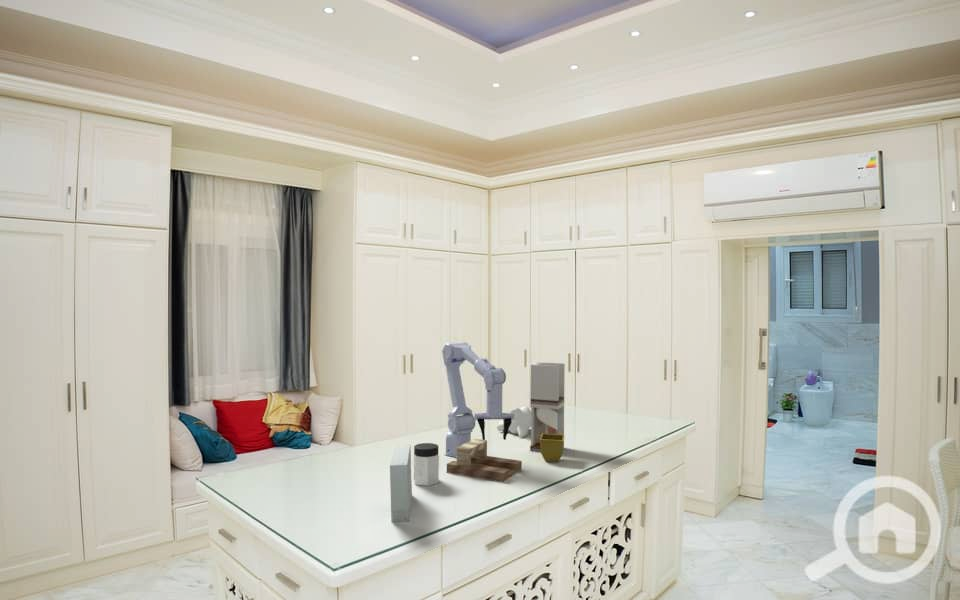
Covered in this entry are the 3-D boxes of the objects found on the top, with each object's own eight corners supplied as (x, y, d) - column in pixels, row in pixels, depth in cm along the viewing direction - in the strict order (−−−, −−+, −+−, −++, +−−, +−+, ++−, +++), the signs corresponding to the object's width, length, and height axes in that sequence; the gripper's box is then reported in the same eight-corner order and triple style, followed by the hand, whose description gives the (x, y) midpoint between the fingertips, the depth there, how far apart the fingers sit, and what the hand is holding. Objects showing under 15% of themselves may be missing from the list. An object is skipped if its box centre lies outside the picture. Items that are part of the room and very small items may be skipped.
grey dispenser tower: (530, 451, 224) (530, 364, 224) (537, 444, 234) (538, 362, 234) (557, 454, 220) (558, 366, 220) (563, 447, 230) (564, 363, 230)
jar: (408, 484, 183) (408, 447, 183) (418, 476, 190) (418, 441, 190) (433, 487, 180) (434, 450, 180) (442, 479, 188) (443, 444, 188)
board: (446, 472, 195) (446, 463, 195) (467, 460, 210) (467, 452, 210) (503, 481, 186) (503, 473, 186) (521, 469, 200) (521, 460, 200)
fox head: (495, 411, 267) (489, 417, 247) (527, 400, 265) (524, 405, 245) (505, 438, 265) (499, 446, 246) (537, 427, 263) (534, 434, 244)
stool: (469, 466, 192) (469, 449, 192) (456, 464, 195) (456, 447, 195) (486, 456, 205) (487, 440, 205) (474, 454, 207) (475, 438, 207)
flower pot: (563, 464, 206) (563, 440, 206) (539, 462, 208) (539, 438, 208) (564, 457, 215) (564, 434, 215) (541, 456, 217) (541, 433, 217)
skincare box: (394, 495, 172) (394, 444, 172) (412, 495, 173) (412, 444, 173) (389, 522, 151) (389, 464, 151) (409, 522, 152) (409, 463, 152)
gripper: (475, 404, 197) (475, 442, 197) (515, 404, 199) (515, 441, 199) (474, 400, 204) (473, 437, 204) (512, 400, 206) (512, 436, 206)
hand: (494, 439), depth 202 cm, fingers open, 7 cm apart
